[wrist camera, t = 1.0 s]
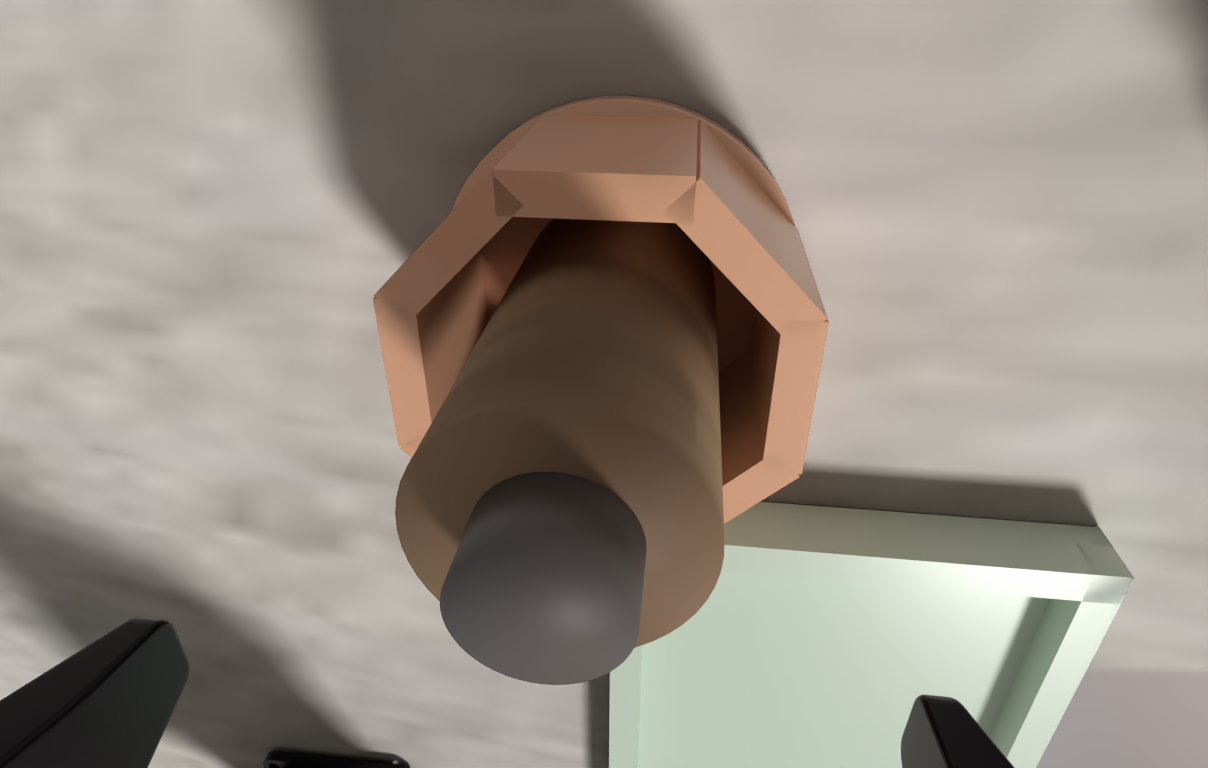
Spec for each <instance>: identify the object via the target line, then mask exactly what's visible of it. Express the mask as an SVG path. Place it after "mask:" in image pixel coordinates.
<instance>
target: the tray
mask: <svg viewBox="0 0 1208 768" xmlns="http://www.w3.org/2000/svg"><path fill="white" fill-rule="evenodd" d="M724 539H725V541H724V560H723V564H722V569H721V573H720V576H719V578H718V581H717V583H716V586H715V588H714V590H713V591H712V593H711V595H710V596H709V598H708V599H707V601H706V602H705V603H704V605H703V606H702V607H701V608H700V609H699V610H698V612H697V613H696V614H695V615H694V616H692V617H691V618H690V619H689V620H688V621H687V622H685V623H684V624H683V625H682V626H680V627H679V628H677V629H675V630H674V631H672V632H671V633H669V634H667V635H665V636H663V637H661V638H659V639H657V640H655V641H653V642H650V643H647V644H644V645H641V646H639V647H635V648H634V649H633V651H632V652H631V654H630V655H629V656H628V658H627V659H626V660H625V661H624V662H623V663H622V664H621V665H619V666H618V667H617V668H615V669H614V670H612V671H611V672H610V706H609V768H902V762H901V739H902V735H903V732H904V729H905V727H906V724H907V721H908V718H909V715H910V712H911V709H912V707H913V704H914V701H915V699H916V698H917V697H918V696H920V695H924V694H925V695H935V696H945V697H951V698H954V699H956V700H958V701H959V702H960V703H961V704H962V705H963V706H964V707H965V708H966V709H967V711H968V712H969V713H970V714H971V715H972V717H973V718H974V719H975V720H976V722H977V723H978V724H979V725H980V726H981V728H982V729H983V730H984V731H985V732H986V734H987V735H988V736H989V737H990V738H991V740H992V741H993V742H994V743H995V744H996V746H997V747H998V748H999V749H1000V751H1001V752H1002V753H1003V754H1004V755H1005V757H1006V758H1007V759H1008V760H1009V761H1010V763H1011V764H1012V765H1013V766H1014V767H1015V768H1036V766H1037V764H1038V762H1039V760H1040V759H1041V757H1042V755H1043V752H1044V751H1045V749H1046V747H1047V745H1048V743H1049V741H1050V739H1051V737H1052V735H1053V733H1054V732H1055V730H1056V728H1057V726H1058V724H1059V722H1060V720H1061V718H1062V716H1063V714H1064V712H1065V710H1066V708H1067V706H1068V704H1069V703H1070V701H1071V699H1072V697H1073V695H1074V693H1075V691H1076V689H1077V687H1078V685H1079V683H1080V681H1081V679H1082V678H1083V676H1084V674H1085V672H1086V670H1087V668H1088V666H1089V664H1090V662H1091V660H1092V658H1093V656H1094V654H1095V652H1096V651H1097V649H1098V647H1099V645H1100V643H1101V641H1102V639H1103V637H1104V635H1105V633H1106V631H1107V629H1108V627H1109V625H1110V624H1111V622H1112V620H1113V618H1114V616H1115V614H1116V612H1117V610H1118V608H1119V606H1120V604H1121V602H1122V600H1123V599H1124V597H1125V595H1126V593H1127V591H1128V589H1129V587H1130V585H1131V583H1132V581H1133V579H1134V577H1133V576H1132V574H1131V573H1130V571H1129V570H1128V568H1127V567H1126V566H1125V564H1124V563H1123V561H1122V560H1121V558H1120V557H1119V555H1118V554H1117V552H1116V551H1115V549H1114V548H1113V546H1112V545H1111V543H1110V542H1109V541H1108V539H1107V538H1106V536H1105V535H1104V533H1103V532H1102V530H1101V529H1100V527H1090V526H1077V525H1063V524H1050V523H1037V522H1023V521H1010V520H997V519H983V518H970V517H957V516H943V515H930V514H917V513H904V512H890V511H877V510H864V509H850V508H837V507H824V506H810V505H797V504H784V503H770V502H759V503H757V504H755V505H754V506H752V507H751V508H749V509H747V510H746V511H744V512H743V513H741V514H739V515H738V516H736V517H735V518H733V519H731V520H730V521H728V522H726V523H725V524H724Z"/></svg>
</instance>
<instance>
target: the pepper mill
mask: <svg viewBox="0 0 1208 768" xmlns="http://www.w3.org/2000/svg"><path fill="white" fill-rule="evenodd" d="M395 515H396V525H397V531H398V535H399V539H400V542H401V546H402V548H403V551H404V553H405V555H406V557H407V560H408V562H409V563H410V565H411V567H412V568H413V570H414V572H415V573H416V575H417V576H418V578H419V579H420V580H421V581H422V583H423V584H424V585H425V586H426V588H427V589H428V590H429V591H430V592H431V593H432V594H433V595H434V596H435V597H436V598H437V599H438V600H439V601H440V610H441V614H442V618H443V621H444V623H445V625H446V628H447V629H448V631H449V633H450V634H451V636H452V637H453V638H454V640H455V641H456V642H457V643H458V645H459V646H460V647H461V648H462V649H464V650H465V651H466V652H467V653H468V654H469V655H470V656H472V657H473V658H474V659H476V660H477V661H479V662H480V663H482V664H483V665H485V666H487V667H489V668H491V669H492V670H494V671H496V672H499V673H501V674H504V675H506V676H509V677H512V678H515V679H518V680H523V681H527V682H532V683H539V684H550V685H565V684H575V683H581V682H585V681H590V680H593V679H596V678H599V677H601V676H603V675H605V674H607V673H609V672H611V671H612V670H614V669H615V668H617V667H618V666H619V665H621V664H622V663H623V662H624V661H625V660H626V659H627V658H628V656H629V655H630V654H631V652H632V651H633V649H634V648H635V647H639V646H641V645H644V644H647V643H650V642H653V641H655V640H657V639H659V638H661V637H663V636H665V635H667V634H669V633H671V632H672V631H674V630H675V629H677V628H679V627H680V626H682V625H683V624H684V623H685V622H687V621H688V620H689V619H690V618H691V617H692V616H694V615H695V614H696V613H697V612H698V610H699V609H700V608H701V607H702V606H703V605H704V603H705V602H706V601H707V599H708V598H709V596H710V595H711V593H712V591H713V590H714V588H715V586H716V583H717V581H718V578H719V576H720V573H721V569H722V564H723V560H724V541H725V539H724V512H723V485H722V458H721V430H720V403H719V376H718V349H717V322H716V294H715V280H714V273H713V269H712V265H711V262H710V259H709V258H708V257H707V256H706V255H705V253H704V252H703V251H702V250H701V249H700V248H699V247H698V246H697V245H696V244H695V243H694V242H693V241H692V240H691V239H690V238H689V237H688V235H687V234H686V233H685V232H684V231H683V230H682V229H681V228H680V227H679V226H678V225H677V224H676V223H660V222H635V221H609V220H583V219H558V218H554V219H553V220H552V221H551V222H549V223H548V224H547V226H546V227H545V228H544V229H543V230H542V231H541V232H540V234H539V235H538V237H537V238H536V240H535V241H534V243H533V245H532V247H531V248H530V250H529V252H528V254H527V255H526V257H525V259H524V261H523V262H522V264H521V266H520V268H519V270H518V271H517V273H516V275H515V277H514V278H513V280H512V282H511V284H510V285H509V287H508V289H507V291H506V292H505V294H504V296H503V298H502V300H501V301H500V303H499V305H498V307H497V308H496V310H495V312H494V314H493V315H492V317H491V319H490V321H489V323H488V324H487V326H486V328H485V330H484V331H483V333H482V335H481V337H480V338H479V340H478V342H477V344H476V346H475V347H474V349H473V351H472V353H471V354H470V356H469V358H468V360H467V361H466V363H465V365H464V367H463V369H462V370H461V372H460V374H459V376H458V377H457V379H456V381H455V383H454V384H453V386H452V388H451V390H450V391H449V393H448V395H447V397H446V399H445V400H444V402H443V404H442V406H441V407H440V409H439V411H438V413H437V414H436V416H435V418H434V420H433V422H432V423H431V425H430V427H429V429H428V430H427V432H426V434H425V436H424V437H423V439H422V441H421V443H420V445H419V446H418V448H417V450H416V452H415V453H414V455H413V457H412V459H411V460H410V462H409V464H408V466H407V468H406V470H405V472H404V474H403V477H402V479H401V481H400V485H399V489H398V493H397V497H396V511H395Z"/></svg>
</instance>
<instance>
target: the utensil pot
mask: <svg viewBox="0 0 1208 768" xmlns="http://www.w3.org/2000/svg"><path fill="white" fill-rule="evenodd" d="M554 218H558V219H583V220H609V221H635V222H660V223H676V224H677V225H678V226H679V227H680V228H681V229H682V230H683V231H684V232H685V233H686V234H687V235H688V237H689V238H690V239H691V240H692V241H693V242H694V243H695V244H696V245H697V246H698V247H699V248H700V249H701V250H702V251H703V252H704V253H705V255H706V256H707V257H708V258H709V259H710V262H711V265H712V269H713V273H714V280H715V294H716V322H717V349H718V376H719V403H720V430H721V458H722V485H723V512H724V524H725V523H726V522H728V521H730V520H731V519H733V518H735V517H736V516H738V515H739V514H741V513H743V512H744V511H746V510H747V509H749V508H751V507H752V506H754V505H755V504H757V503H759V502H760V501H762V500H764V499H765V498H767V497H768V496H770V495H772V494H773V493H775V492H776V491H778V490H780V489H781V488H783V487H784V486H786V485H788V484H789V483H791V482H793V481H794V480H796V479H797V478H799V477H800V475H799V474H802V470H803V465H804V459H805V453H806V448H807V442H808V436H809V431H810V425H811V419H812V414H813V408H814V402H815V397H816V391H817V386H818V380H819V374H820V369H821V363H822V357H823V352H824V346H825V340H826V335H827V329H828V323H829V322H828V318H827V315H826V312H825V309H824V306H823V303H822V300H821V297H820V294H819V291H818V288H817V285H816V282H815V279H814V276H813V273H812V270H811V267H810V264H809V261H808V258H807V255H806V252H805V249H804V246H803V243H802V240H801V237H800V234H799V231H798V230H797V228H796V227H795V224H794V221H793V218H792V215H791V213H790V210H789V207H788V205H787V202H786V199H785V197H784V195H783V194H782V192H781V190H780V188H779V186H778V184H777V183H776V181H775V179H774V177H773V176H772V175H771V173H770V172H769V171H768V169H767V168H766V167H765V165H764V164H763V163H762V161H761V160H760V159H759V158H758V157H757V156H756V155H755V154H754V153H753V152H752V151H751V150H750V149H749V148H748V146H747V145H746V144H745V143H744V142H743V141H741V140H740V139H739V138H738V137H736V136H735V135H734V134H732V133H731V132H730V131H728V130H727V129H726V128H724V127H723V126H722V125H720V124H718V123H716V122H715V121H713V120H711V119H709V118H707V117H706V116H704V115H702V114H700V113H698V112H695V111H693V110H690V109H688V108H685V107H683V106H680V105H677V104H675V103H671V102H666V101H662V100H658V99H653V98H649V97H638V96H627V95H618V96H598V97H592V98H587V99H582V100H577V101H572V102H569V103H566V104H563V105H560V106H558V107H555V108H552V109H549V110H547V111H545V112H543V113H541V114H539V115H537V116H535V117H533V118H531V119H529V120H528V121H526V122H525V123H523V124H522V125H520V126H519V127H518V128H516V129H515V130H513V131H512V132H511V133H509V134H508V135H507V136H506V137H505V138H504V139H503V140H502V141H501V142H499V143H498V144H497V145H496V146H495V147H494V148H493V149H492V150H491V151H490V152H489V153H488V154H487V155H486V156H485V157H484V158H483V159H482V160H481V161H480V163H479V164H478V165H477V167H476V168H475V169H474V170H473V172H472V173H471V174H470V176H469V177H468V178H467V180H466V182H465V184H464V185H463V187H462V189H461V191H460V192H459V194H458V196H457V198H456V201H455V203H454V206H453V208H452V211H451V212H450V214H449V215H448V216H447V217H446V218H445V219H444V220H443V221H442V222H441V223H440V224H439V225H438V227H437V228H436V229H435V230H434V231H433V232H432V233H431V234H430V235H429V236H428V237H427V238H426V240H425V241H424V242H423V243H422V244H421V245H420V246H419V247H418V248H417V249H416V250H415V251H414V253H413V254H412V255H411V256H410V257H409V258H408V259H407V260H406V261H405V262H404V263H403V265H402V266H401V267H400V268H399V269H398V270H397V271H396V272H395V273H394V274H393V275H392V276H391V278H390V279H389V280H388V281H387V282H386V283H385V284H384V285H383V286H382V287H381V288H380V289H379V291H378V292H377V293H376V294H375V295H374V296H375V297H374V298H373V303H374V308H375V314H376V320H377V325H378V331H379V337H380V343H381V348H382V354H383V360H384V365H385V371H386V377H387V383H388V388H389V394H390V400H391V405H392V411H393V417H394V423H395V428H396V434H397V440H398V445H399V446H401V448H400V449H402V450H403V451H404V452H405V453H407V454H408V455H409V456H410V457H413V455H414V453H415V452H416V450H417V448H418V446H419V445H420V443H421V441H422V439H423V437H424V436H425V434H426V432H427V430H428V429H429V427H430V425H431V423H432V422H433V420H434V418H435V416H436V414H437V413H438V411H439V409H440V407H441V406H442V404H443V402H444V400H445V399H446V397H447V395H448V393H449V391H450V390H451V388H452V386H453V384H454V383H455V381H456V379H457V377H458V376H459V374H460V372H461V370H462V369H463V367H464V365H465V363H466V361H467V360H468V358H469V356H470V354H471V353H472V351H473V349H474V347H475V346H476V344H477V342H478V340H479V338H480V337H481V335H482V333H483V331H484V330H485V328H486V326H487V324H488V323H489V321H490V319H491V317H492V315H493V314H494V312H495V310H496V308H497V307H498V305H499V303H500V301H501V300H502V298H503V296H504V294H505V292H506V291H507V289H508V287H509V285H510V284H511V282H512V280H513V278H514V277H515V275H516V273H517V271H518V270H519V268H520V266H521V264H522V262H523V261H524V259H525V257H526V255H527V254H528V252H529V250H530V248H531V247H532V245H533V243H534V241H535V240H536V238H537V237H538V235H539V234H540V232H541V231H542V230H543V229H544V228H545V227H546V226H547V224H548V223H549V222H551V221H552V220H553V219H554Z"/></svg>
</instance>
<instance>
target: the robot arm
mask: <svg viewBox="0 0 1208 768" xmlns="http://www.w3.org/2000/svg"><path fill="white" fill-rule="evenodd" d="M188 674H189V661H188V658H187V656H186V653H185V651H184V649H183V646H182V644H181V642H180V639H179V637H178V635H177V632H176V630H175V628H174V626H173V624H172V623H171V622H170V621H168V620H166V619H159V618H149V617H137V618H133V619H131V620H129V621H127V622H125V623H123V624H122V625H120V626H119V627H117V628H115V629H114V630H112V631H111V632H109V633H107V634H106V635H104V636H103V637H101V638H99V639H98V640H96V641H95V642H93V643H91V644H90V645H88V646H87V647H85V648H83V649H82V650H80V651H79V652H77V653H75V654H74V655H72V656H71V657H69V658H67V659H66V660H64V661H63V662H61V663H60V664H58V665H56V666H55V667H53V668H52V669H50V670H48V671H47V672H45V673H44V674H42V675H40V676H39V677H37V678H36V679H34V680H32V681H31V682H29V683H28V684H26V685H24V686H23V687H21V688H20V689H18V690H16V691H15V692H13V693H12V694H10V695H8V696H7V697H5V698H4V699H2V700H0V768H148V766H149V764H150V761H151V759H152V757H153V755H154V753H155V750H156V748H157V746H158V744H159V741H160V739H161V737H162V735H163V733H164V730H165V728H166V726H167V724H168V722H169V719H170V717H171V715H172V713H173V711H174V708H175V706H176V704H177V702H178V700H179V697H180V695H181V693H182V691H183V689H184V686H185V684H186V681H187V678H188ZM901 762H902V768H1015V767H1014V766H1013V765H1012V764H1011V763H1010V761H1009V760H1008V759H1007V758H1006V757H1005V755H1004V754H1003V753H1002V752H1001V751H1000V749H999V748H998V747H997V746H996V744H995V743H994V742H993V741H992V740H991V738H990V737H989V736H988V735H987V734H986V732H985V731H984V730H983V729H982V728H981V726H980V725H979V724H978V723H977V722H976V720H975V719H974V718H973V717H972V715H971V714H970V713H969V712H968V711H967V709H966V708H965V707H964V706H963V705H962V704H961V703H960V702H959V701H958V700H956V699H954V698H951V697H945V696H935V695H925V694H924V695H920V696H918V697H917V698H916V699H915V701H914V704H913V707H912V709H911V712H910V715H909V718H908V721H907V724H906V727H905V729H904V732H903V735H902V739H901ZM263 764H264V768H405V767H403V766H399V765H391V764H382V763H374V762H365V761H356V760H347V759H339V758H330V757H321V756H313V755H304V754H295V753H287V752H278V751H272V752H270V753H269V754H268V755H267V757H266V759H265V761H264V763H263Z"/></svg>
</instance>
